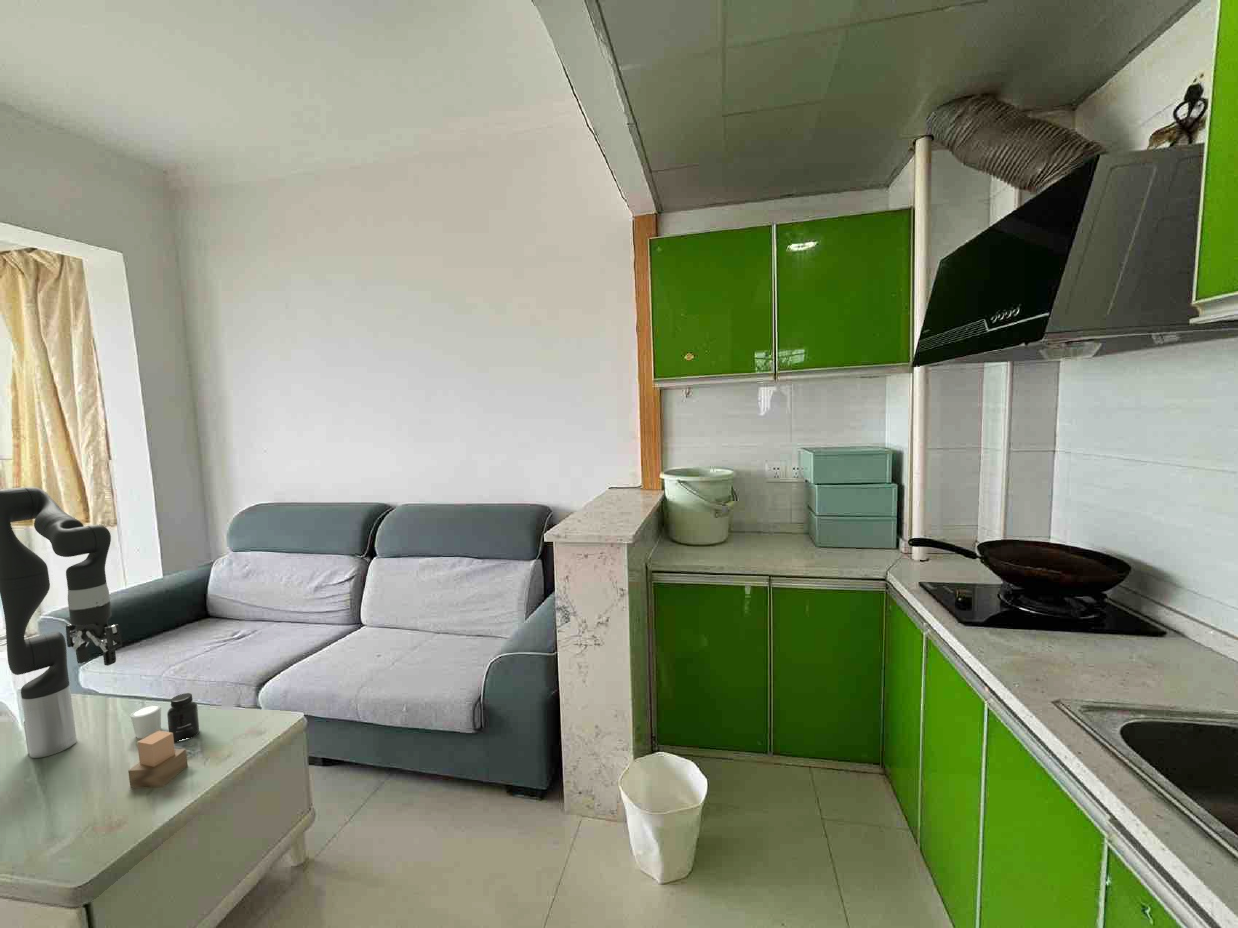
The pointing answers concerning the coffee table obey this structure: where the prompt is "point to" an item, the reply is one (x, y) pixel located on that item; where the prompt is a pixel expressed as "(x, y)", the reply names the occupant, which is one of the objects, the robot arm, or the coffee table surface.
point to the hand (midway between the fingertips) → (97, 663)
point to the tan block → (156, 748)
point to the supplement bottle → (183, 717)
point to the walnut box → (158, 771)
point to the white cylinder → (146, 720)
